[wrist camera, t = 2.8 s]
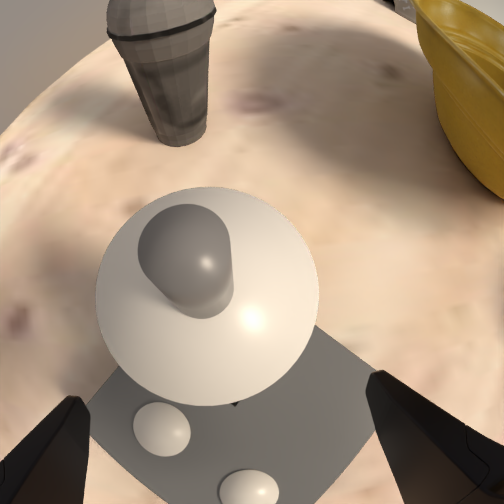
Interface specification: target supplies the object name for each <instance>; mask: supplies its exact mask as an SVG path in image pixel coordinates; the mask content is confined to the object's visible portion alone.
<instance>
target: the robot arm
mask: <svg viewBox="0 0 504 504" xmlns="http://www.w3.org/2000/svg"><path fill="white" fill-rule="evenodd" d="M365 394H366V398H367V401H368V405H369V408H370V412H371V415H372V419H373V422H374V426H375V430H376V433H377V436H378V438H379V441H380V443H381V446H382V448H383V451H384V453H385V456H386V458H387V461H388V463H389V466H390V468H391V471H392V473H393V476H394V478H395V481H396V483H397V486H398V488H399V491H400V493H401V496H402V499H403V501H404V504H504V446H503V445H501V444H499V443H497V442H495V441H493V440H491V439H489V438H487V437H485V436H484V435H482V434H480V433H479V432H477V431H475V430H474V429H472V428H471V427H469V426H468V425H465V424H464V423H463V422H461V421H460V420H458V419H457V418H455V417H454V416H452V415H451V414H449V413H448V412H446V411H444V410H443V409H441V408H440V407H438V406H437V405H435V404H434V403H432V402H431V401H429V400H428V399H426V398H425V397H423V396H422V395H420V394H419V393H417V392H416V391H414V390H413V389H411V388H410V387H408V386H407V385H405V384H404V383H402V382H401V381H399V380H398V379H397V378H395V377H394V376H392V375H391V374H389V373H388V372H386V371H384V370H379V371H375V372H372V373H371V374H370V376H369V379H368V383H367V386H366V390H365ZM90 422H91V415H90V412H89V410H88V408H87V407H86V405H85V404H84V402H83V401H82V399H81V398H80V397H79V396H71V395H69V396H67V397H66V398H65V399H64V400H62V401H61V402H60V403H59V404H58V405H57V406H56V407H55V408H54V409H53V410H52V411H51V412H50V413H49V414H48V415H47V416H46V417H45V418H44V419H43V420H42V421H41V422H40V423H39V424H38V425H37V426H36V427H35V428H34V429H33V430H32V431H31V432H30V433H29V434H28V435H27V436H26V437H25V438H24V439H23V440H22V441H21V442H20V443H19V444H18V445H17V446H16V447H15V448H14V449H13V450H12V451H11V452H10V453H9V454H8V455H7V456H6V457H5V458H4V460H2V461H1V462H0V504H83V498H84V489H85V480H86V473H87V465H88V457H89V438H90Z"/></svg>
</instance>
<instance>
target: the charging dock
mask: <svg viewBox="0 0 504 504" xmlns="http://www.w3.org/2000/svg"><path fill="white" fill-rule="evenodd" d="M375 371H376V370H375V369H374V368H372V367H371V366H370V365H368V364H367V363H366V362H364V361H363V360H362V359H360V358H359V357H357V356H356V355H355V354H353V353H352V352H351V351H349V350H348V349H347V348H345V347H344V346H343V345H341V344H340V343H339V342H337V341H336V340H335V339H333V338H332V337H331V336H329V335H328V334H327V333H325V332H324V331H323V330H321V329H320V328H319V327H317V326H316V325H314V328H313V331H312V334H311V337H310V339H309V341H308V343H307V345H306V347H305V349H304V350H303V352H302V353H301V355H300V356H299V358H298V359H297V361H296V362H295V363H294V364H293V366H292V367H291V368H290V369H289V370H288V371H287V372H286V373H285V374H284V375H283V376H282V377H281V378H280V379H278V380H277V381H276V382H275V383H274V384H272V385H271V386H269V387H268V388H266V389H264V390H263V391H261V392H259V393H257V394H255V395H253V396H251V397H248V398H246V399H243V400H240V401H237V402H233V403H229V404H223V405H215V406H195V405H188V404H182V403H178V402H174V401H171V400H168V399H165V398H163V397H160V396H158V395H156V394H154V393H152V392H150V391H149V390H147V389H145V388H144V387H142V386H141V385H139V384H138V383H137V382H136V381H134V380H133V379H132V378H131V377H130V376H129V375H128V374H126V372H125V371H124V370H123V369H122V368H121V367H120V366H119V367H118V368H117V369H116V370H115V371H114V373H113V374H112V375H111V376H110V377H109V379H108V380H107V381H106V382H105V383H104V384H103V386H102V387H101V388H100V389H99V390H98V392H97V393H96V394H95V395H94V396H93V398H92V399H91V400H90V401H89V402H88V404H87V405H86V407H87V408H88V410H89V412H90V415H91V422H90V436H91V437H92V438H93V439H94V440H95V441H96V442H97V443H98V444H99V445H100V446H101V447H102V448H103V449H104V450H105V451H106V452H107V453H108V454H109V455H110V456H111V457H112V458H114V459H115V460H116V461H117V462H118V463H119V464H120V465H121V466H122V467H123V468H125V469H126V470H127V471H128V472H129V473H130V474H131V475H133V476H134V477H135V478H136V479H137V480H139V481H140V482H141V483H142V484H143V485H145V486H146V487H147V488H148V489H150V490H151V491H152V492H154V493H155V494H156V495H157V496H159V497H160V498H161V499H163V500H164V501H166V502H167V503H168V504H314V503H315V502H316V501H317V500H318V499H319V498H320V497H321V496H322V495H323V494H324V493H325V492H326V490H327V489H328V488H329V487H330V486H331V485H332V484H333V483H334V482H335V480H336V479H337V478H338V477H339V476H340V475H341V473H342V472H343V471H344V470H345V469H346V468H347V466H348V465H349V464H350V463H351V461H352V460H353V459H354V458H355V456H356V455H357V454H358V453H359V451H360V450H361V449H362V447H363V446H364V445H365V443H366V442H367V441H368V439H369V438H370V437H371V435H372V434H373V433H374V431H375V426H374V422H373V419H372V415H371V412H370V408H369V405H368V401H367V398H366V394H365V390H366V386H367V383H368V379H369V376H370V374H371V373H372V372H375Z"/></svg>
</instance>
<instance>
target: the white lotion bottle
mask: <svg viewBox="0 0 504 504" xmlns="http://www.w3.org/2000/svg"><path fill="white" fill-rule="evenodd" d="M95 303H96V314H97V319H98V324H99V327H100V331H101V334H102V337H103V339H104V341H105V343H106V345H107V348H108V350H109V351H110V353H111V354H112V356H113V357H114V359H115V360H116V362H117V363H118V364H119V366H120V367H121V368H122V369H123V370H124V371H125V372H126V374H128V375H129V376H130V377H131V378H132V379H133V380H134V381H136V382H137V383H138V384H139V385H141V386H142V387H144V388H145V389H147V390H149V391H150V392H152V393H154V394H156V395H158V396H160V397H163V398H165V399H168V400H171V401H174V402H178V403H182V404H188V405H195V406H215V405H223V404H229V403H233V402H237V401H240V400H243V399H246V398H248V397H251V396H253V395H255V394H257V393H259V392H261V391H263V390H264V389H266V388H268V387H269V386H271V385H272V384H274V383H275V382H276V381H277V380H278V379H280V378H281V377H282V376H283V375H284V374H285V373H286V372H287V371H288V370H289V369H290V368H291V367H292V366H293V364H294V363H295V362H296V361H297V359H298V358H299V356H300V355H301V353H302V352H303V350H304V349H305V347H306V345H307V343H308V341H309V339H310V337H311V334H312V331H313V328H314V325H315V322H316V317H317V312H318V305H319V286H318V277H317V272H316V268H315V264H314V261H313V258H312V256H311V253H310V251H309V248H308V247H307V245H306V243H305V241H304V239H303V238H302V236H301V235H300V233H299V232H298V231H297V229H296V228H295V227H294V225H293V224H292V223H291V222H290V221H289V220H288V219H287V218H286V217H285V216H284V215H283V214H281V213H280V212H279V211H278V210H276V209H275V208H274V207H272V206H271V205H269V204H268V203H266V202H264V201H263V200H261V199H259V198H256V197H254V196H252V195H250V194H247V193H244V192H240V191H237V190H232V189H227V188H219V187H197V188H191V189H185V190H181V191H177V192H174V193H171V194H168V195H166V196H163V197H161V198H158V199H157V200H155V201H153V202H151V203H149V204H148V205H146V206H145V207H143V208H142V209H141V210H139V211H138V212H136V213H135V214H134V215H133V216H132V217H131V218H130V219H129V220H128V221H127V222H126V223H125V224H124V225H123V226H122V227H121V228H120V230H119V231H118V232H117V234H116V235H115V236H114V238H113V239H112V241H111V242H110V244H109V246H108V248H107V250H106V252H105V254H104V257H103V259H102V262H101V265H100V268H99V272H98V277H97V281H96V292H95Z"/></svg>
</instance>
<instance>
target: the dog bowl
mask: <svg viewBox="0 0 504 504" xmlns="http://www.w3.org/2000/svg"><path fill="white" fill-rule="evenodd" d="M394 3H395V13H397V14H399V15H400V16H402V17H404V18H406V19H407V20H409V21H411V22H413V23H415V24H416V10H415V8H414V7H413V6H412V4H411V3H410V1H409V0H394Z"/></svg>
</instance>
